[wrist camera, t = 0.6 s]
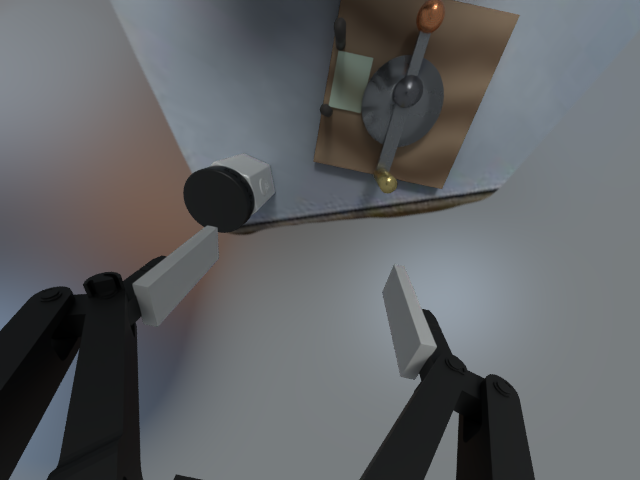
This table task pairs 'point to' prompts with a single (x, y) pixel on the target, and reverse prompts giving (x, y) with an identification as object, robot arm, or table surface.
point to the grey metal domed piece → (404, 97)
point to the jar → (228, 192)
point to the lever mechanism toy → (397, 40)
